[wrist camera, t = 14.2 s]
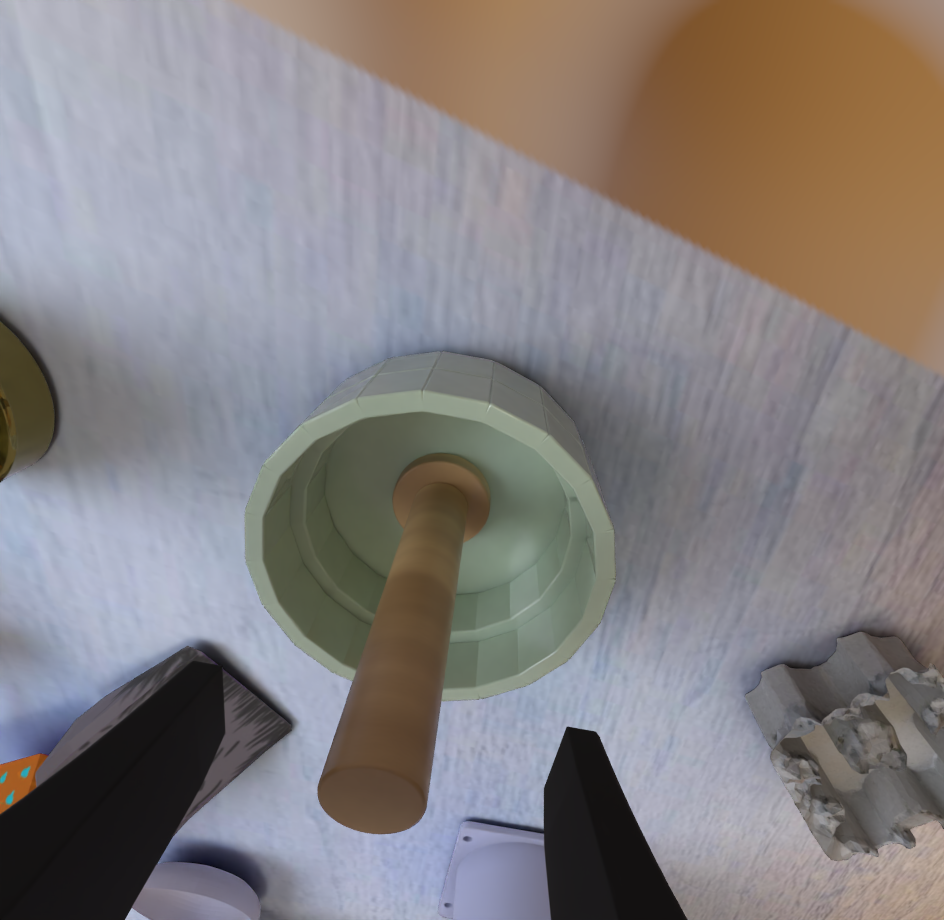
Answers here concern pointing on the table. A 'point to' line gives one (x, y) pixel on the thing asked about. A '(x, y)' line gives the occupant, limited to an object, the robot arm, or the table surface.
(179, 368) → the table surface
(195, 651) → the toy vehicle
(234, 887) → the shallow white dish
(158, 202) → the table surface
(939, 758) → the egg carton
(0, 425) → the brass candlestick
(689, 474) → the table surface
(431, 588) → the wooden pestle
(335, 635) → the bowl
